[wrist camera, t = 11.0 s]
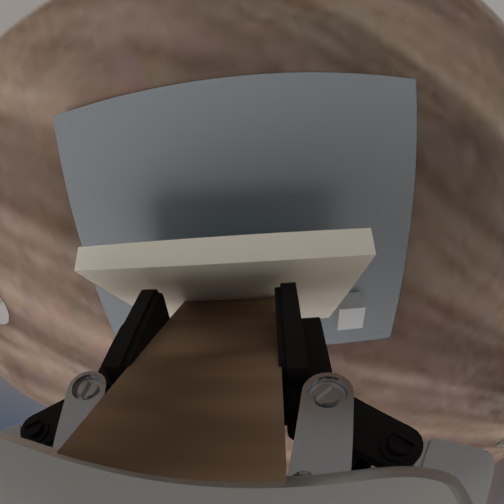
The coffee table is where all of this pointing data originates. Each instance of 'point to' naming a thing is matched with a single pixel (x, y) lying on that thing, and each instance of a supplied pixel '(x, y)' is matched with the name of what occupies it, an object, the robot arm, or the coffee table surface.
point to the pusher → (196, 400)
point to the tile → (234, 267)
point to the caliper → (501, 444)
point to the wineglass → (3, 313)
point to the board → (252, 172)
